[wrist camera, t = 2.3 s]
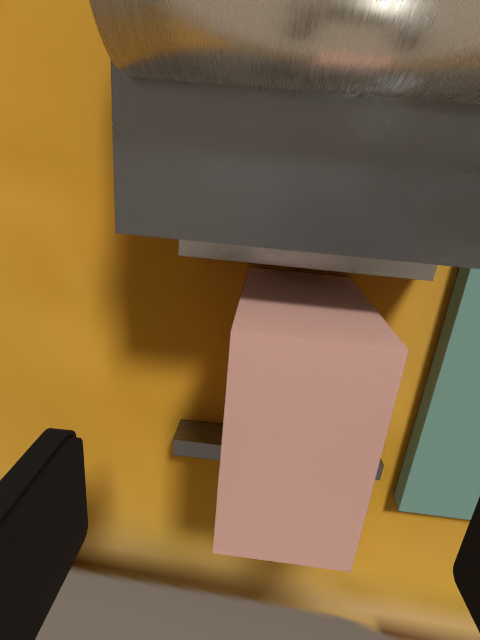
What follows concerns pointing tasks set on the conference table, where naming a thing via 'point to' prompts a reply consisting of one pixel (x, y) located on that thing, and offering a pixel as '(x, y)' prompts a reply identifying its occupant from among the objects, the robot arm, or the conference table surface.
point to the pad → (448, 416)
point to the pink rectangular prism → (303, 418)
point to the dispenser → (297, 136)
